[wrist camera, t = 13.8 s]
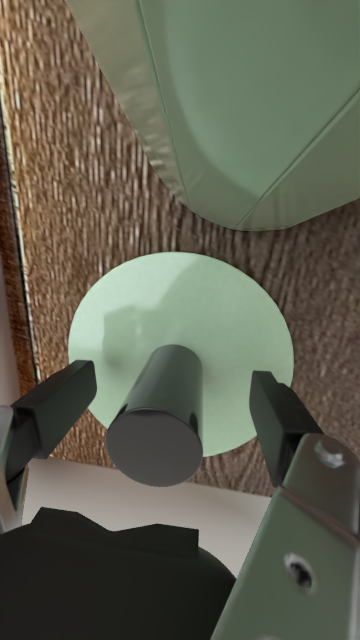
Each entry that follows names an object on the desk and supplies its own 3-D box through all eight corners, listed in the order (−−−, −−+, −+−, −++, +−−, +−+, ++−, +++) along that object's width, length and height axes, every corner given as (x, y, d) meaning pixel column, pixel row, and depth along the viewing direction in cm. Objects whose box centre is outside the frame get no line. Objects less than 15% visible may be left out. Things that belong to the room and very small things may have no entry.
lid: (65, 252, 11) (-87, 240, 5) (302, 252, 10) (450, 236, 4) (91, 433, 15) (16, 548, 9) (270, 451, 13) (324, 600, 7)
